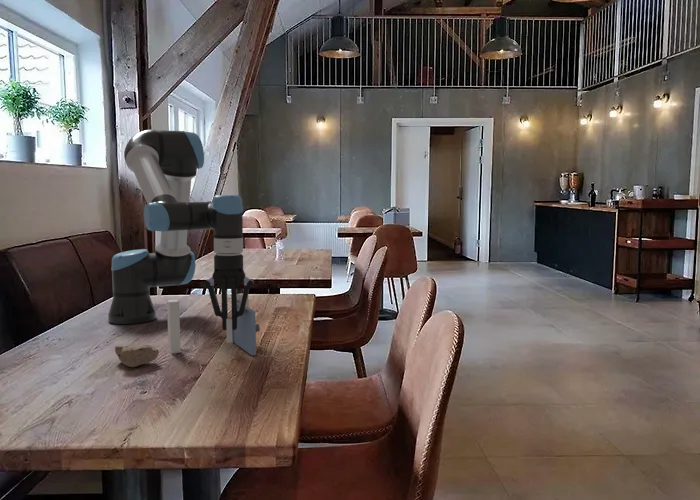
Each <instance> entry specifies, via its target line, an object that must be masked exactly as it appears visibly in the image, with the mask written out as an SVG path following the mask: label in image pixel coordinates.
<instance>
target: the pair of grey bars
mask: <svg viewBox="0 0 700 500" xmlns="http://www.w3.org/2000/svg"><path fill="white" fill-rule="evenodd" d="M242 297H243V292H242V293H237V300H238V303H240V304H241V301H242ZM245 306H246V307H248V308H249V309H250V307H249V296H248V297H247V301H246V305H245ZM166 307H167V308H166V312H167V313H166V315H167V339H168V340H167V342H168V352H169V354H171V355H172V354H177V353H181V352H182V351H181V324H180V323H181V321H180V320H181V317H180V301H179V300H178V299H169V300H166Z"/></svg>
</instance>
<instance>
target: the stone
mask: <svg viewBox="0 0 700 500" xmlns="http://www.w3.org/2000/svg"><path fill="white" fill-rule="evenodd" d="M114 352H115V354H116V356H117V357H118V360H119V361H120V362H121V364H123V365H124V366H126V367H131V368H135V367H138V366H141V365H142V366H143V365H144V364H149V363H150V362H153V361H154V360H156V358H158V355H159V353H160V351H159V349H158V348H157V347H156V346H155V345H149V344H143V345H121V346H118V345H116V346H114Z"/></svg>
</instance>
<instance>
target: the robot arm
mask: <svg viewBox="0 0 700 500" xmlns="http://www.w3.org/2000/svg"><path fill="white" fill-rule="evenodd" d="M123 152H124V153H123V158H124V161H125V164H126V167H127V168H128V169H129V171H131V172H132V173H134V176H135V179H136V180H137V183H138V185H139V187H140V190H141V192H142V195H143V196H144V199H145V201H146V204H145V206H144V208H143V219H144V225H145V228H146V229H147V231H150V232H160V242H159V243H158V244H157V245H156V246H155V248H154V249H155V251H154V252H151V253H150V252H149V251H148V249H146V248H141V249H132V250H131V249H130V250H127V251H121V252H119V253H116V254H114V255H113V256H112V258H111V269H110V270H111V278H112V280H111V281H112V300H111V303H110V307H109V311H108V313H107V319H108V322H109V323H111V324H116V325H133V324H141V323H146V322H151V321H153V320H156V319H157V314H156V313H157V312H156V309H155V306H154V303H153V301H152V298H151V295H150V294H151V293H150V292H151V290H150V288H157V287H159V288H160V287H169V286H170V287H171V286H180V285H186V284H189V283H190V282H192V280H193V278H194V276H195V273H196V256H195V253H194V252H193V251H191V247H190V246H189V245H187V243H188V241H187V240H188V231H200V230H201V231H205V230H213V253H215V255H214V256H213V273H212V275H211V276H210V278H209V279H206V280H204V282H203V284H204V286H205V287H206V289H207V290H208V294H209V297H210V302H211V305H212V308H213V312H214V315H215V316H216V317H219V318H220V319H221V320H222V321H221V322H222V326H221V327H222V330H223V331H226V344H233V330H236V329H237V317H239V316H242V315H243V313H244V310H245V305H246V301H247V297H248V298H249V292H250V289H251V287H252V285H253V284H254V279H252V278H250V277H248V276H246V273H245V269H244V255H243V254H242V253H243V252H244V236H243V235H244V233H243V232H244V231H243V227H244V225H243V222H244V220H243V219H244V217H243V212H244V207H243V198H242V197H241V195H239V194H238V195H237V194H235V195H234V194H231V195H229V194H226V195H225V194H217V195H214V196H213V198H212V199H213V200H212V201H209V200H207V201H191V191H192V190H191V187H192V180H193V178H195V177H197V172H198V170H199V169H202V168H203V167H204V164H205V153H204V152H205V151H204V146H203V143H202V140H201V138H200V136H199V135H198V134H197V133H195V132H191V131H185V130H165V129H163V130H161V129H160V130H159V129H145V130H142V131H140V132H138V133H136V134H135V135H133V136H132V137H131V138H130V139H129V141H127V143H126V145H125V148H124V151H123ZM190 201H191V202H190ZM242 282H243V285H244V286H245V287H244V289H243V292H242V293H243V297H242V301H241V305H240V309H239V311H237V294H238V288H239V287H240V285H241V283H242ZM215 283H216V284H217V286H218V287H219V288H220V289H221V290H220V291H221V294H220V295H221V308H220V304H219V300H218V297H217V293H216V290H215ZM229 289H230V293H231V299H230V300H231V303H230V304H231V316H228V315H229V314H228V313H229V310H228V290H229Z"/></svg>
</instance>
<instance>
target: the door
mask: <svg viewBox="0 0 700 500" xmlns="http://www.w3.org/2000/svg"><path fill="white" fill-rule="evenodd" d="M240 305H241V304H240V303H238V300H237V311H239V309H240ZM248 307H249V306H248ZM248 307H246V306H245V310H244V313H243V315H242V316H239V317H237V329H236V330H233V342H232V344H233V345H237V346H238V347H239V348H241V349H242V350H244V351H245V352H246V353H248V354H249V355H250V356H256V355H257V335H256V334H257V333H258V332H260V331H261V330H260V328H261V327H260V324H258V323H257V322H256V321H257V320H256V311H255V310H253V309H251V308H250V307H249V308H248ZM256 323H257V324H256Z"/></svg>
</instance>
